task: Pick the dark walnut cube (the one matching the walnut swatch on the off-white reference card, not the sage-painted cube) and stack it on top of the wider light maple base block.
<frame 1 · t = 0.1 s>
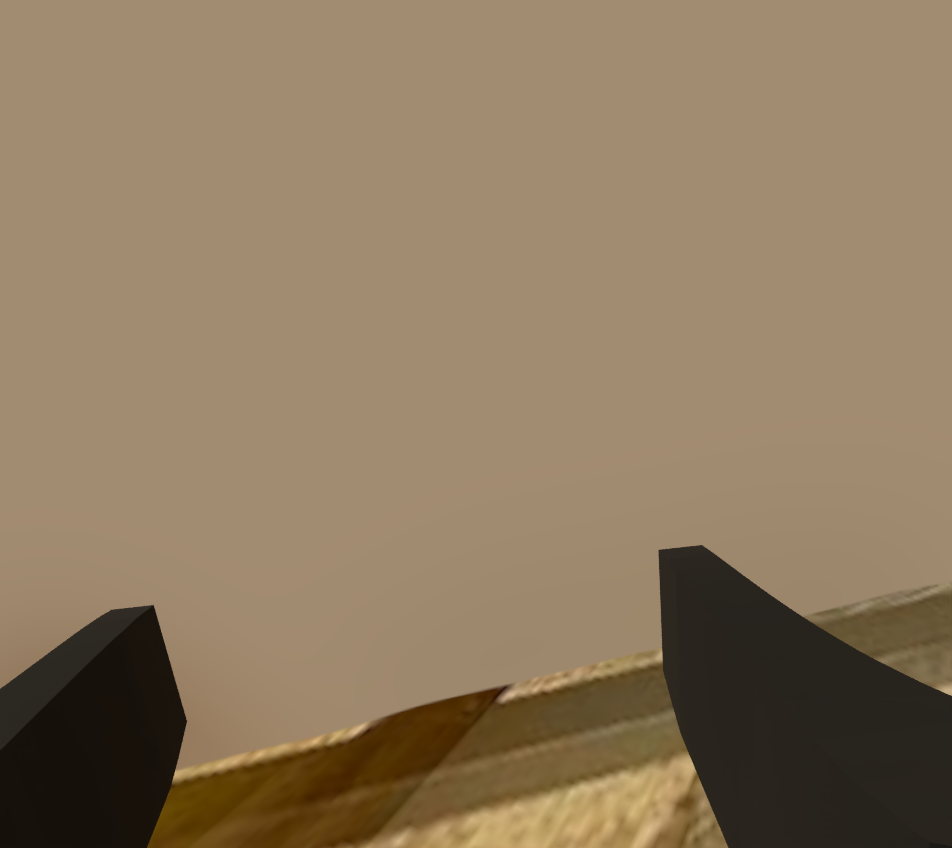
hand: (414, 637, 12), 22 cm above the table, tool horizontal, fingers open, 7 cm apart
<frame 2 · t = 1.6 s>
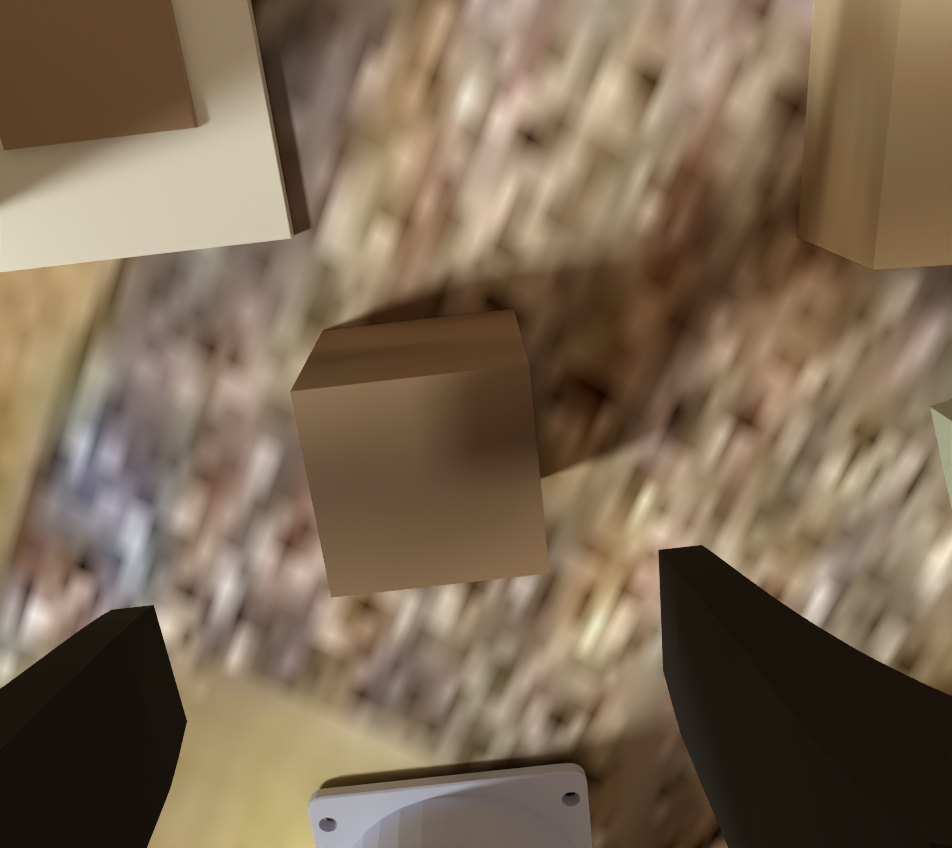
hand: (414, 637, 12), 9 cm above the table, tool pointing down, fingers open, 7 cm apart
walnut cube: (430, 408, 21), on the table
reference card: (86, 36, 18), on the table
maple base: (941, 88, 19), on the table
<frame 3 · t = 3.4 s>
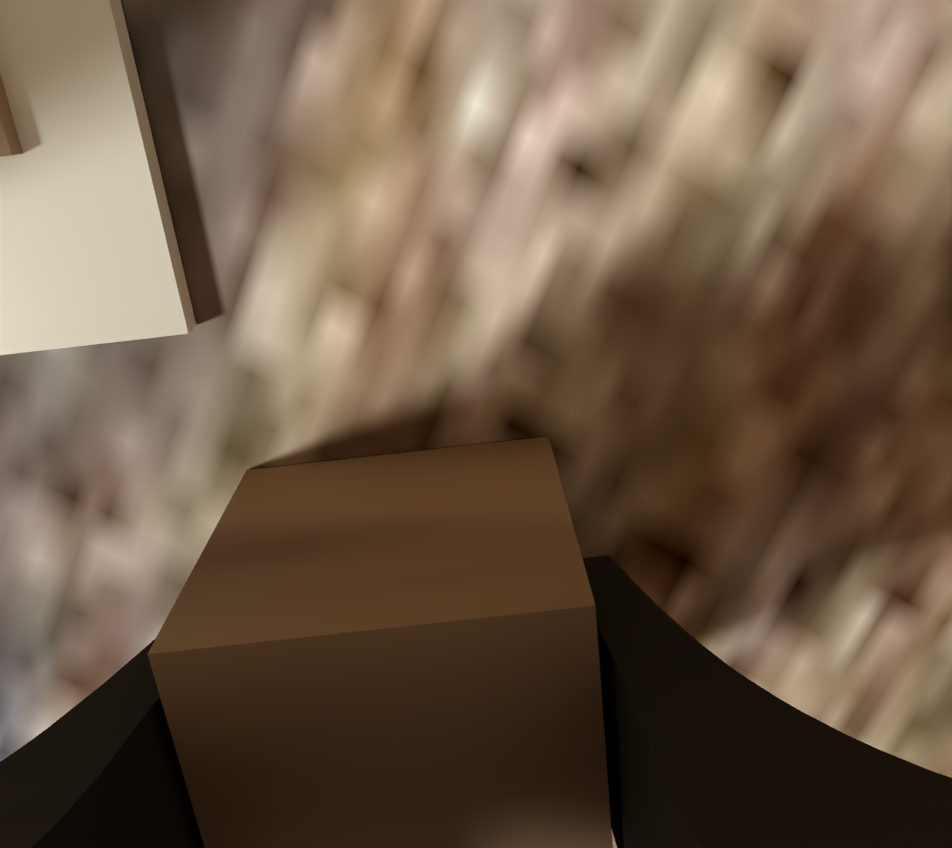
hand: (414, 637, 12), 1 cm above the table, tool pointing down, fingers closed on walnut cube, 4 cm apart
walnut cube: (417, 584, 14), on the table, touching gripper
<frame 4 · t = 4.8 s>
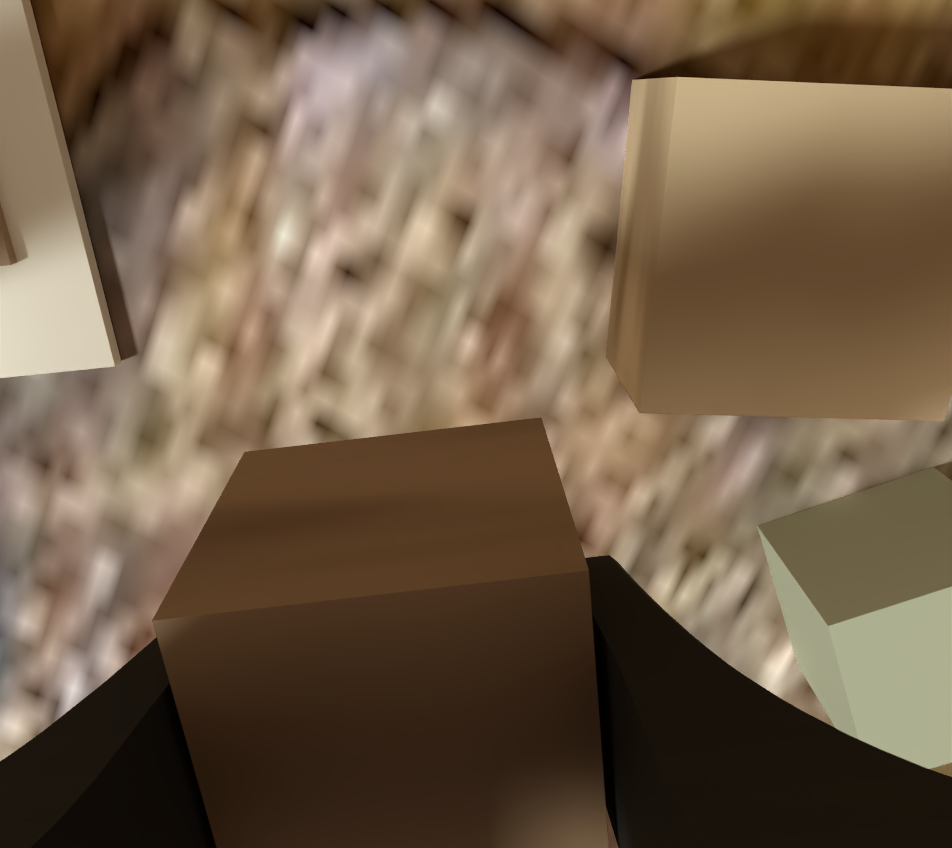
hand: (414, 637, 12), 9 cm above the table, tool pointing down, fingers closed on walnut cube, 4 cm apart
walnut cube: (412, 564, 14), point 7 cm above the table, touching gripper
sage cube: (861, 568, 23), on the table
maple base: (749, 229, 20), on the table
when the fingers open (6 cm above the table, at t = 6.6 s): walnut cube moves 1 cm, point 4 cm above the table.
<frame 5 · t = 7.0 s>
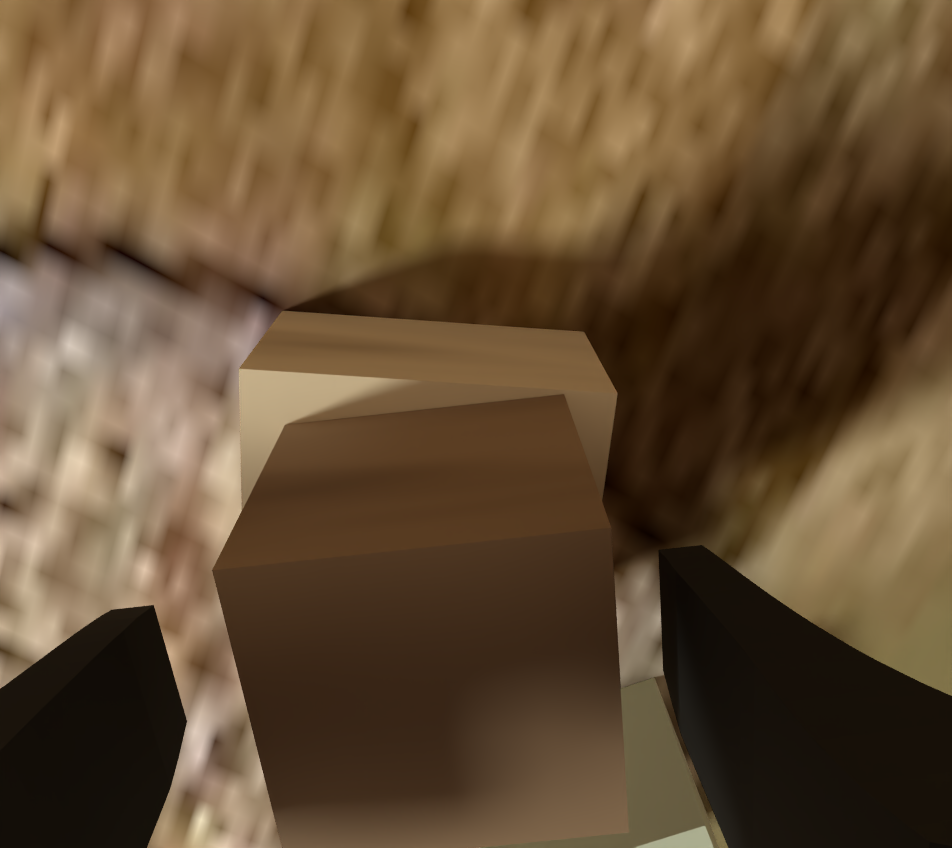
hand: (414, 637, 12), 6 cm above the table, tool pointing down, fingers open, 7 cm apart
walnut cube: (441, 533, 15), point 4 cm above the table
sage cube: (594, 773, 22), on the table
maple base: (426, 455, 19), on the table
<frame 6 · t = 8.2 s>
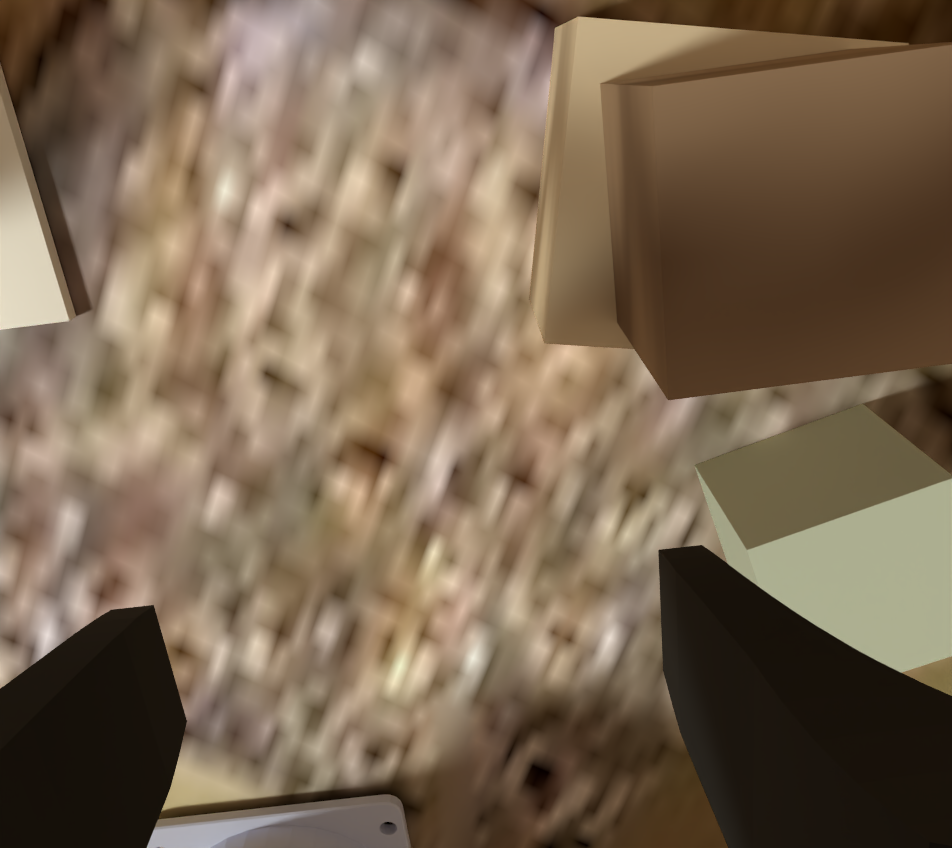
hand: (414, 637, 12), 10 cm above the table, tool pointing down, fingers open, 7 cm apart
walnut cube: (726, 193, 17), point 4 cm above the table, touching maple base
sage cube: (797, 505, 23), on the table
maple base: (668, 179, 20), on the table, touching walnut cube
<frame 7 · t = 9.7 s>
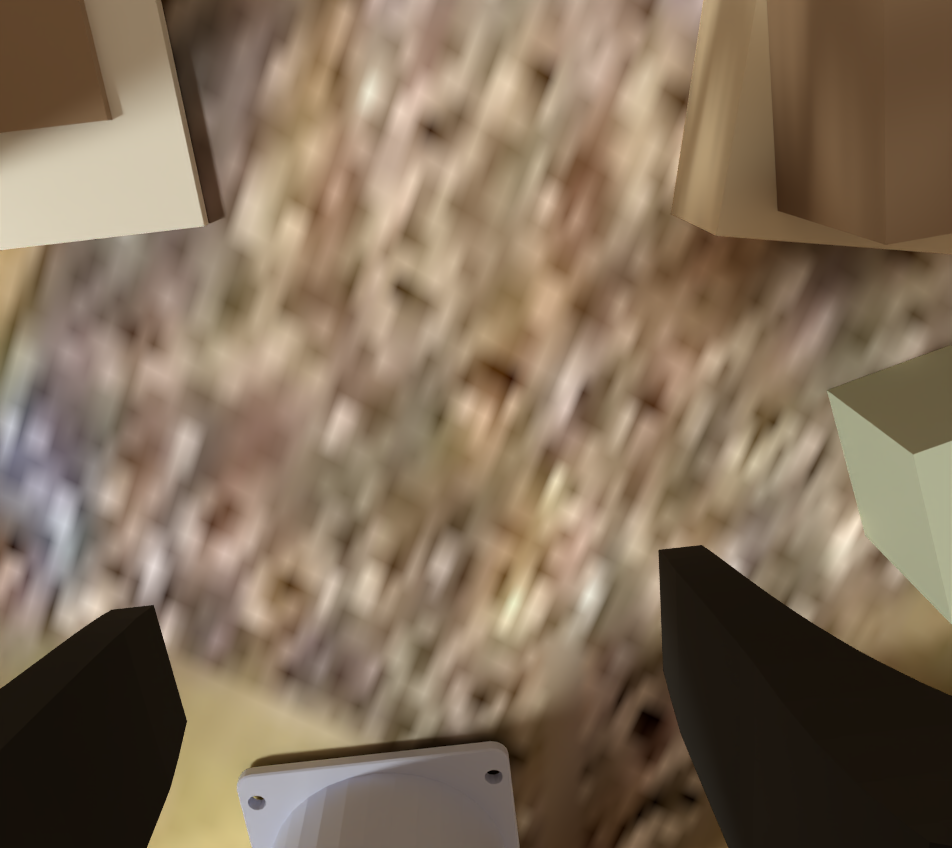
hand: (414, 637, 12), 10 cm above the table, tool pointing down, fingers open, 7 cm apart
walnut cube: (891, 67, 16), point 4 cm above the table
sage cube: (928, 434, 23), on the table
reference card: (5, 33, 19), on the table
maple base: (816, 90, 20), on the table
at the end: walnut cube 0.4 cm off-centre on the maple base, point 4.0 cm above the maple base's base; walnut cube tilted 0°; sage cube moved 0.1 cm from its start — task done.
